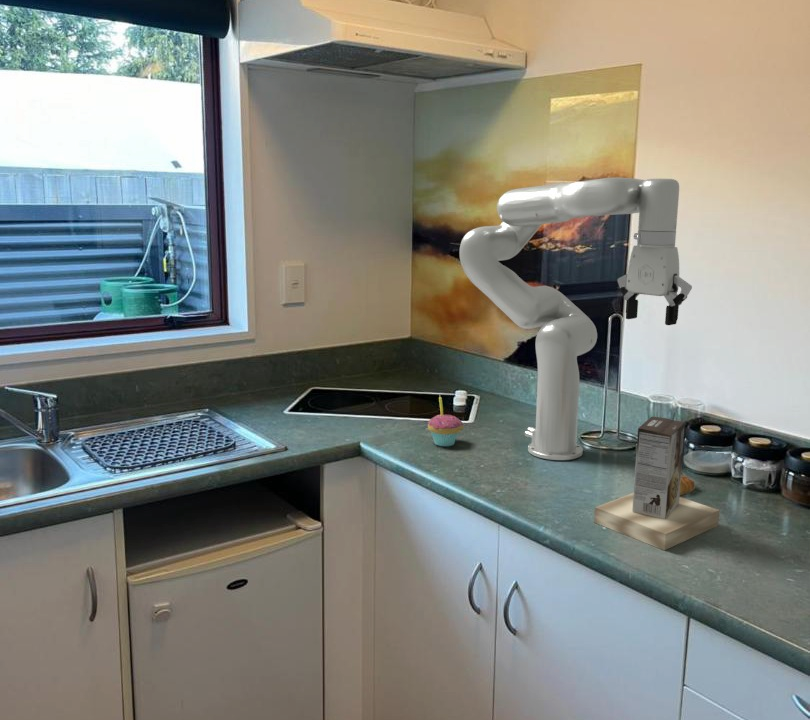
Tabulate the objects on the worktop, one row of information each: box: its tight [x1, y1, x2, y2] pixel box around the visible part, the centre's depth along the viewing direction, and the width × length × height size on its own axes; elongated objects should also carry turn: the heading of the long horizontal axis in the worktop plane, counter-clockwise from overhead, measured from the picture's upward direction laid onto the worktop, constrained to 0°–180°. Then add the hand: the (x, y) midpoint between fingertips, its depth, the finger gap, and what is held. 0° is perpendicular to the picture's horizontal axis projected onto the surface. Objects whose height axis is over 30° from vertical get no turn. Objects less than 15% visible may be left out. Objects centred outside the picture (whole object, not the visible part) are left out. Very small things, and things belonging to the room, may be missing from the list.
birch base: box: [593, 492, 721, 551], centre depth 148 cm, size 15×17×3 cm
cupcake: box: [427, 393, 464, 447], centre depth 193 cm, size 9×8×12 cm
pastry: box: [680, 475, 696, 496], centre depth 164 cm, size 9×7×4 cm
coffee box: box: [632, 416, 686, 519], centre depth 146 cm, size 9×6×16 cm
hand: (650, 321), depth 169 cm, fingers open, 9 cm apart
